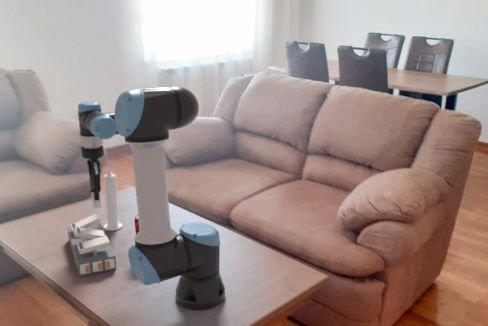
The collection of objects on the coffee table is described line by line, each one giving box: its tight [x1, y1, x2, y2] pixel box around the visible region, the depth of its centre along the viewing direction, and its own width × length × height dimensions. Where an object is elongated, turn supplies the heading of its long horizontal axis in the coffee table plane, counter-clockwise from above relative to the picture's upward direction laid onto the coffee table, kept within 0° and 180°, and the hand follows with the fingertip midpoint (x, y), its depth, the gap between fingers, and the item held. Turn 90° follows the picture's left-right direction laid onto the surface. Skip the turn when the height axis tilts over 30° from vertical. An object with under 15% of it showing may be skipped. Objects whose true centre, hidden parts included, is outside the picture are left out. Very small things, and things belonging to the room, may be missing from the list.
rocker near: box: [77, 235, 111, 254], centre depth 166 cm, size 5×10×2 cm, turn 115°
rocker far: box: [70, 213, 101, 233], centre depth 181 cm, size 5×10×2 cm, turn 115°
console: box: [67, 222, 117, 277], centre depth 174 cm, size 28×12×7 cm, turn 25°
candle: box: [103, 167, 123, 232], centre depth 193 cm, size 7×7×25 cm
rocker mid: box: [74, 227, 106, 239], centre depth 173 cm, size 5×10×2 cm, turn 115°
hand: (96, 207), depth 181 cm, fingers closed
